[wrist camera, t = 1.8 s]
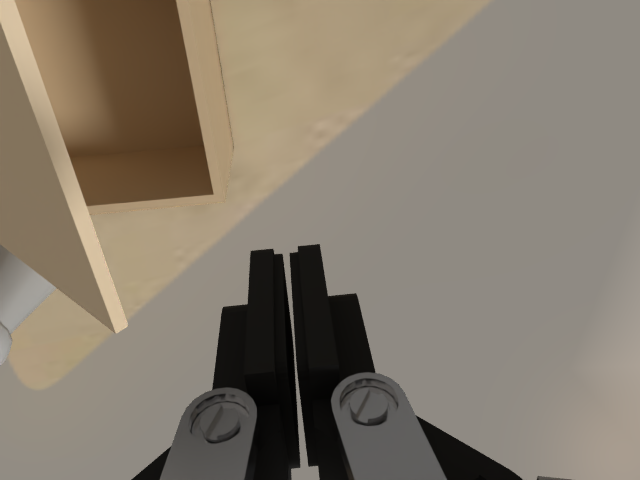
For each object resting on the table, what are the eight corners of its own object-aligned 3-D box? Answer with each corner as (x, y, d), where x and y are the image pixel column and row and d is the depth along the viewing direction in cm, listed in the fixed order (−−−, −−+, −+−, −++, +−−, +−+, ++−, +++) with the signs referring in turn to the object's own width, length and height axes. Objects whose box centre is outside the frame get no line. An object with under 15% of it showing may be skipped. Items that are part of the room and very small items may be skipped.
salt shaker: (4, 267, 43) (-88, 387, 32) (0, 209, 40) (-103, 318, 29) (78, 278, 44) (14, 397, 33) (78, 222, 41) (9, 331, 30)
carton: (202, -47, 32) (181, -38, 24) (233, 147, 39) (225, 202, 31) (-25, -30, 31) (-120, -16, 24) (48, 164, 38) (-7, 223, 31)
